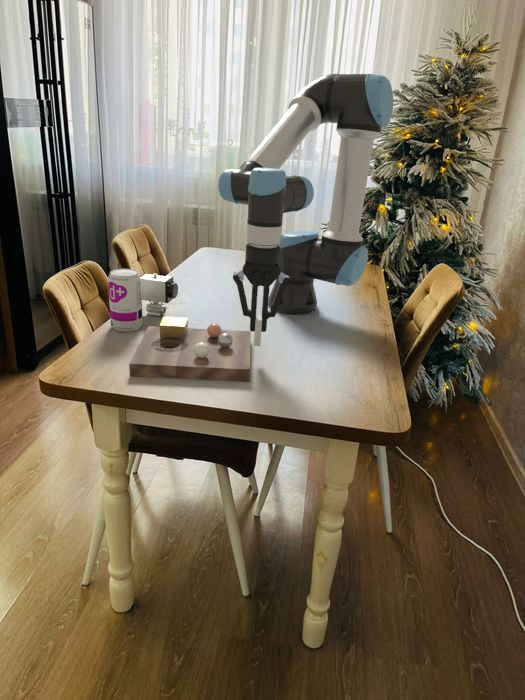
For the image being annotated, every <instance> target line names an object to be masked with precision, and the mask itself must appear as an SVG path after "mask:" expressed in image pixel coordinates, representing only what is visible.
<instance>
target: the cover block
mask: <svg viewBox="0 0 525 700" xmlns="http://www.w3.org/2000/svg"><path fill="white" fill-rule="evenodd" d="M188 323H189V318H188V317H182V316H181V317H177V316H163V317H162V319H161V322H160V324H159V327H160V337H174V338H185V336H186V333H187V330H188V328H189V324H188Z"/></svg>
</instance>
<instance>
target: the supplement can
mask: <svg viewBox="0 0 525 700" xmlns="http://www.w3.org/2000/svg"><path fill="white" fill-rule="evenodd" d="M140 276H141V275H140V274H139V271H138V270H137V269H132V268H118V269H113V270H111V271H110V272H109V274H108V276H107V286H108V287H107V289H108V301H109V315H110V327H112V328H113V330H115V331H117V332H121V331H122V332H123V333H130V331H131V332H135V331H139V330H140V328H142V326H143V325H144V323H143V320H144V319H143V300H142V293H141V277H140Z"/></svg>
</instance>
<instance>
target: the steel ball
mask: <svg viewBox="0 0 525 700" xmlns="http://www.w3.org/2000/svg"><path fill="white" fill-rule="evenodd" d="M232 342H233V339H232V337H231V336H230V335H229V334H227V333H224V334H221V335H220V336H219V338H218V344H219V346H220V347H222V348H228V347H230V346H231V345H232Z"/></svg>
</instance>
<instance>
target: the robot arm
mask: <svg viewBox="0 0 525 700" xmlns="http://www.w3.org/2000/svg"><path fill="white" fill-rule="evenodd" d="M287 108H288V109H287V111H286V113H285V114H284V115H283V116H282V117H281V118H280V120H279V121H278V122H277V123H276V124H275V126H273V128H272V129H271V130H270V132H268V134H267V135H266V136H265V137H264V138H263V139H262V141H261V142H260V143H259V144H258V145H257V146H256V148H255V149H254V150H253V151H252V153H251V154H250V155H249V156H248V157H247V158H246V160H244V162H243V163H242V164H241V166H240V167H239V168H237V169H236V168H231V169H225V170H223V171H222V172H221V174H220V176H219V178H218V182H217V185H218V186H217V188H218V192H219V196H220V197H221V198H222V200H224V201H225V202H229V203H233V204H237V205H246V206H247V221H246V222H247V223H246V237H245V238H246V239H245V241H246V243H247V244H246V245H245V256H244V257H245V259H244V260H245V262H244V264H243V266H242V269H241V270H239V271H237V272H236V271H234V272H233V275H232V279H233V281H234V283H235V284H236V286H237V291H238V297H239V301H240V306H241V310H242V311H241V312H242V315H243V316H244V317H248V318H249V330H250V331H251V332H254V334H253V336H254V338H253V346H254V347H261V344H262V343H261V341H262V333H266V331H267V327H268V324H267V323H268V320H269V318H275V317H276V315H277V312H279V313H283V314H288V315H289V314H290V315H305V314H311V313H314V312H315V311H316V310H317V309H318V307H317V305H318V300H317V295H316V291H315V290H316V289H315V285H314V281H315V280H319V281H322V282H326V283H331V284H335V285H338V286H346V287H351V286H354V285H355V284H356V283H358V281H359V280H360V278H361V277H362V275H363V274H364V271H365V269H366V266H367V264H368V260H369V250H368V248H367V247H365V246H363V244H364V243H363V242H364V238H363V237H362V235H361V234H360V227H361V222H362V221H361V220H362V215H363V209H364V204H365V203H364V202H365V196H366V191H367V190H366V189H367V185H368V184H367V183H368V177H369V171H370V167H371V166H370V165H371V157H372V152H373V147H374V146H373V145H374V141H375V140H376V139H377V138H378V137H379V136H380V135H382V134H381V133H382V128H384V127H386V126H388V125H389V123H390V122H391V118H392V116H393V111H394V93H393V87H392V84H391V81H390V80H389V78H387V76H385V75H383V74H373V73H366V74H365V73H347V74H346V73H345V74H343V73H341V74H340V73H330V74H326V75H324V76H321V77H319V78H317V79H316V80H313V81H312V82H311V83H309V84H308V85H306V86H305V87H303V88H302V89H301V90H300V91H298V92H297V94H296V95H295V96H294V97H292V99H291V101H289V104H288V107H287ZM327 123H329V124H330V123H332V124H336V132H337V133H338V135H339V137H340V142H339V149H338V156H337V163H336V171H335V179H334V186H333V192H332V193H333V194H332V200H331V206H330V214H329V221H328V228H327V230H325V231H324V232H323V233H322V234H321V238H320V234H319V233H318V231H312V230H297V231H295V230H294V231H288V232H285V233H282V232H283V217H284V214H286V213H287V214H288V213H292V212H298V211H302V210H304V209H306V208H308V207H309V206H310V205H311V204H312V201H313V200H314V196H315V190H314V185H313V184H312V182H311V181H310V179H309V178H307V177H305V176H301V175H295V174H294V175H292V176H290V175H286V171H285V170H284V169H281V167H282V166H283V165H284V164H285V163H286V161H287V160H288V159H289V158H290V156H291V155H292V154H293V153H294V151H295V150H296V149H297V148H298V147H299V145H300V144H301V143H302V141H303V140H304V139H305V138H306V137H307V136H308V134H309V133H310V132H314V131H315V130H317V129H318V127H319V126H320V125H323V124H327ZM245 277H246V279H247V280H248V281H249V283H250V284H251V285H252V286H251V301H250V309H249V307H248V306H249V305H248V301H247V297H246V292H245V286H244V282H243V281H244V280H245V279H244V278H245ZM273 283H274V284H273ZM271 285H273V287H272V289H271V291H270V286H271ZM259 287H263V292H262V305H261V306H262V307H261V315H257V307H258V306H257V305H258V292H259V289H258V288H259ZM269 308H270V310H269Z"/></svg>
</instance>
